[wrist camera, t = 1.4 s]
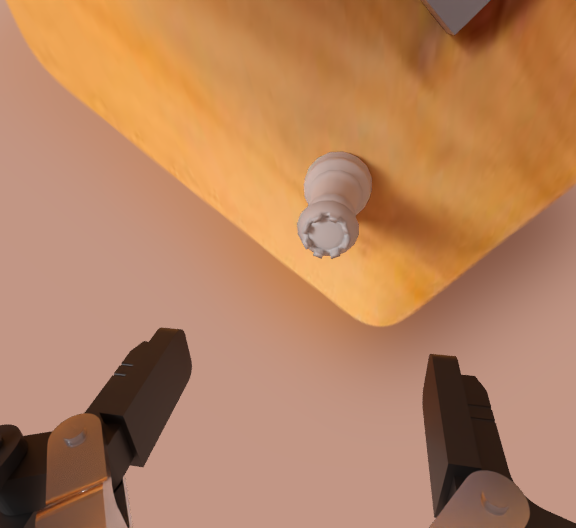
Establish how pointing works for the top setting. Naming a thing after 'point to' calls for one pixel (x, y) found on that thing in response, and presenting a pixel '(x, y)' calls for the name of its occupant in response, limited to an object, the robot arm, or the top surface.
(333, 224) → the rook chess piece
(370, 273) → the top surface
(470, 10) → the grey holder tray
